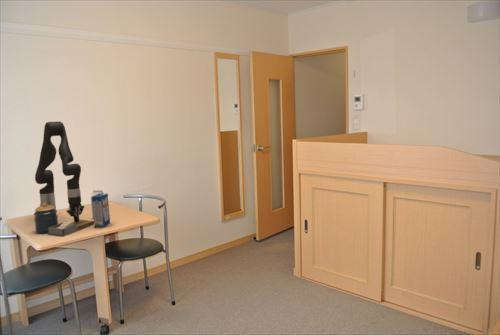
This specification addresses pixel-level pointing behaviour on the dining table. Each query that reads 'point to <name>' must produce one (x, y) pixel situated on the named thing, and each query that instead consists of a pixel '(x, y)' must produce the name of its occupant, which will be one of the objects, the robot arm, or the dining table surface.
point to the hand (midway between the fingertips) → (76, 222)
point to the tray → (61, 230)
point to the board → (83, 224)
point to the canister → (45, 218)
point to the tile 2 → (66, 224)
